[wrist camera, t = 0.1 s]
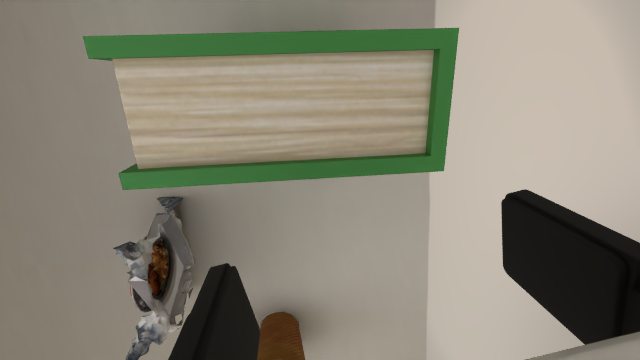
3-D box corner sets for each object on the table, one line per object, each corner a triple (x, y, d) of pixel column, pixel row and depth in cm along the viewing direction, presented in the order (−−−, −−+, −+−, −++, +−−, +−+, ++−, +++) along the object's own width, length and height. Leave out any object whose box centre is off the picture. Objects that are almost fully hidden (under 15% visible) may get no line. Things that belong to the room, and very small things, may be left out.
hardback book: (221, 124, 39) (122, 189, 16) (213, 62, 36) (82, 36, 14) (357, 118, 40) (443, 171, 17) (357, 58, 38) (459, 27, 15)
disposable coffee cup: (317, 335, 51) (325, 409, 40) (267, 357, 52) (260, 435, 40) (293, 295, 48) (293, 362, 37) (240, 318, 49) (224, 391, 37)
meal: (152, 197, 41) (92, 249, 28) (185, 196, 41) (139, 247, 29) (170, 289, 46) (126, 367, 33) (199, 287, 46) (166, 364, 34)
